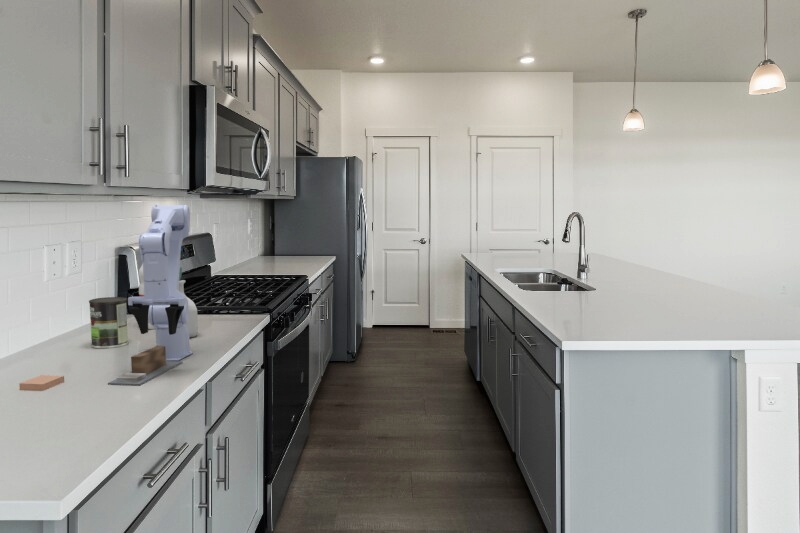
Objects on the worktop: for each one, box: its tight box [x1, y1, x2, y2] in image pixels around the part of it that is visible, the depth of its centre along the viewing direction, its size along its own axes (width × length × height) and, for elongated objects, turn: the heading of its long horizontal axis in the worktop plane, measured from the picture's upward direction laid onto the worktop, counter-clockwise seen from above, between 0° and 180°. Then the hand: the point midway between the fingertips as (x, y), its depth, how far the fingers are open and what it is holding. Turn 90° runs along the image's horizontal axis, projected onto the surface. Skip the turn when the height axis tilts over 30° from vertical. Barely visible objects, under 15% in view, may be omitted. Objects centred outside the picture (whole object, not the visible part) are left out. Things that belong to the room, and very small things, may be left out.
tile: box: [18, 374, 65, 392], centre depth 143 cm, size 2×6×7 cm
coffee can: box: [88, 296, 129, 349], centre depth 185 cm, size 10×10×14 cm
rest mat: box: [107, 360, 184, 386], centre depth 153 cm, size 21×8×1 cm, turn 173°
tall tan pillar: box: [115, 346, 166, 382], centre depth 151 cm, size 16×5×5 cm, turn 173°
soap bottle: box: [178, 266, 199, 338], centre depth 195 cm, size 10×10×23 cm
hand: (158, 333), depth 153 cm, fingers open, 7 cm apart
